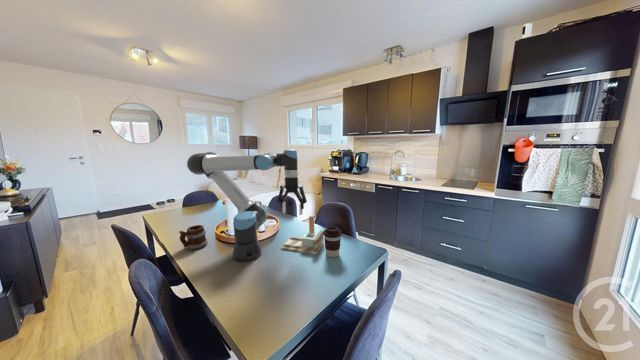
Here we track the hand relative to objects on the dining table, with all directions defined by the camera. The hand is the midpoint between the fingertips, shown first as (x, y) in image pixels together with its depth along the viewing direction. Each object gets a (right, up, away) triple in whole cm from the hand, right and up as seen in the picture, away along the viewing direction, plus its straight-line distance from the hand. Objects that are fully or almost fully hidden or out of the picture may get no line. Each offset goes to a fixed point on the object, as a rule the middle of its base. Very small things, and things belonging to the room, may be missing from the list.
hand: (292, 213), depth 129 cm
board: (+6, -20, +2) cm, 21 cm away
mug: (-59, -21, +2) cm, 62 cm away
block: (+11, -18, 0) cm, 21 cm away
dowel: (+11, -18, +12) cm, 24 cm away
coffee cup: (+23, -22, -8) cm, 33 cm away
